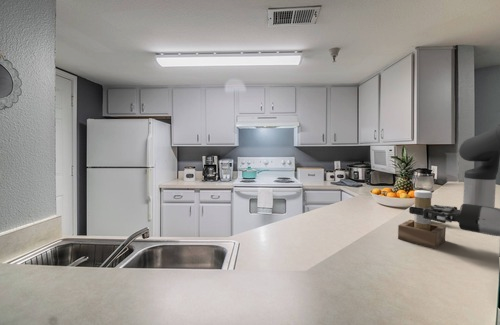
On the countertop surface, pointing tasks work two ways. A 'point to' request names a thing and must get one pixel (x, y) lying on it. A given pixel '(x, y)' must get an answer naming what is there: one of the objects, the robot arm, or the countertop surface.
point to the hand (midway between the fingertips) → (412, 208)
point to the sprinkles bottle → (422, 202)
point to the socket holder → (422, 234)
